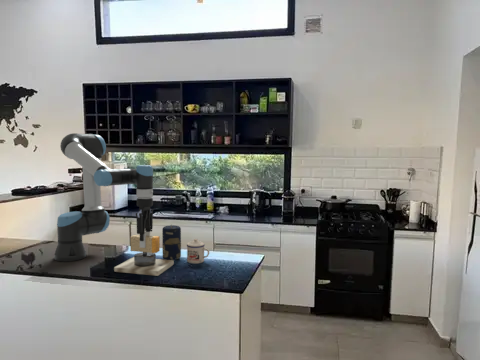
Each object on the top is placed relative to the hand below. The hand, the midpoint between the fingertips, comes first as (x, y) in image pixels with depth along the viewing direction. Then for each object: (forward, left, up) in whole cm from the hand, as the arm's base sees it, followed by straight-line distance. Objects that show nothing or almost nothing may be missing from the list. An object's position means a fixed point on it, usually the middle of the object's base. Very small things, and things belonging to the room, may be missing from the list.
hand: (144, 246), depth 182 cm
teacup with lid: (+21, +17, -11) cm, 29 cm away
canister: (+6, +18, -11) cm, 22 cm away
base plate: (0, 0, -11) cm, 11 cm away
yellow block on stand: (0, 0, -8) cm, 8 cm away
